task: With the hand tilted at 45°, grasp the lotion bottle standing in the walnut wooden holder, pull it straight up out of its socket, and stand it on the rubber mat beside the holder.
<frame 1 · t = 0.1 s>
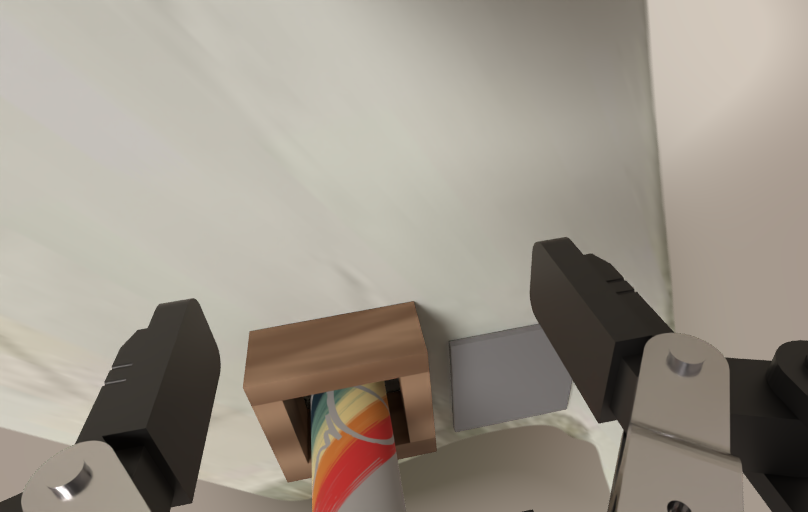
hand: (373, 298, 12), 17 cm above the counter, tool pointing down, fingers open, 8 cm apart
bottle holder: (346, 369, 39), on the counter
lotion bottle: (346, 367, 39), resting in bottle holder
rubber mat: (511, 375, 43), on the counter
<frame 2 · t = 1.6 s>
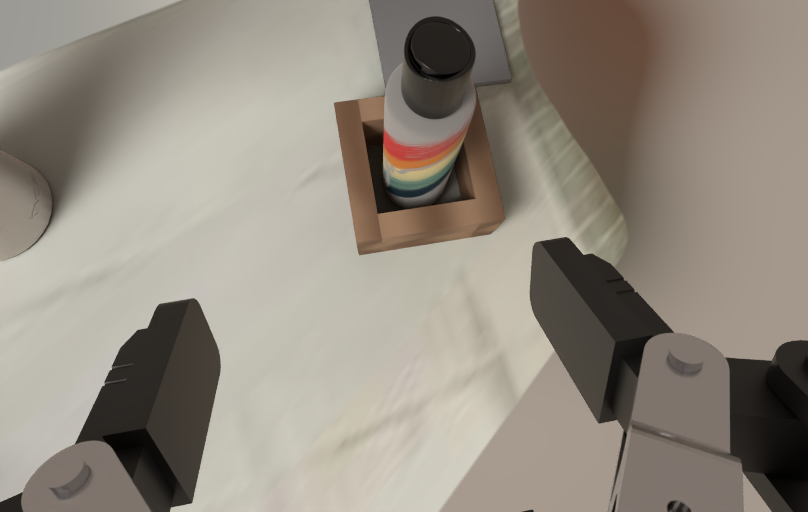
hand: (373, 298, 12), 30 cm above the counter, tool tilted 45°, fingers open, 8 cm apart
bottle holder: (413, 181, 44), on the counter
lotion bottle: (413, 182, 44), resting in bottle holder
rubber mat: (438, 39, 47), on the counter
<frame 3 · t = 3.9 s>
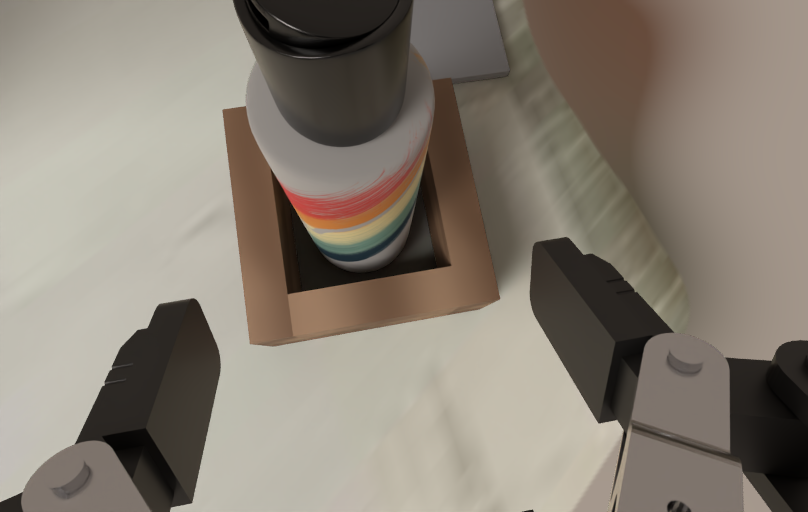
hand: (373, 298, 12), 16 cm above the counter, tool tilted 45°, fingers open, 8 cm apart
bottle holder: (361, 227, 29), on the counter
lotion bottle: (361, 228, 29), resting in bottle holder
rubber mat: (401, 14, 32), on the counter
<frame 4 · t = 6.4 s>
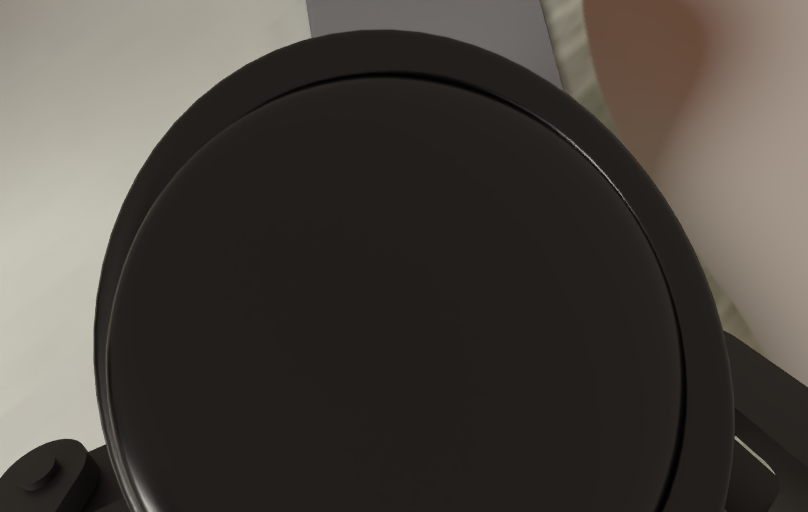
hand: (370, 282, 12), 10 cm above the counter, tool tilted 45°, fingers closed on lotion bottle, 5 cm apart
lotion bottle: (384, 355, 22), resting in bottle holder, touching gripper
rubber mat: (435, 65, 25), on the counter
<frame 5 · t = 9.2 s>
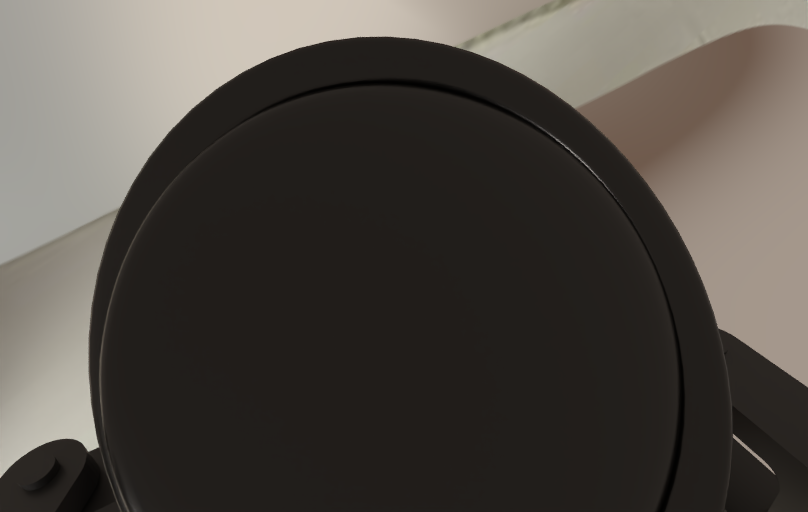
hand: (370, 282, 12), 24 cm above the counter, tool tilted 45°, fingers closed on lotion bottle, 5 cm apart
lotion bottle: (384, 356, 22), point 14 cm above the counter, touching gripper
when the fingers open (12 cm above the counter, at t = 12.3 s): lotion bottle drops 1 cm, resting on rubber mat.
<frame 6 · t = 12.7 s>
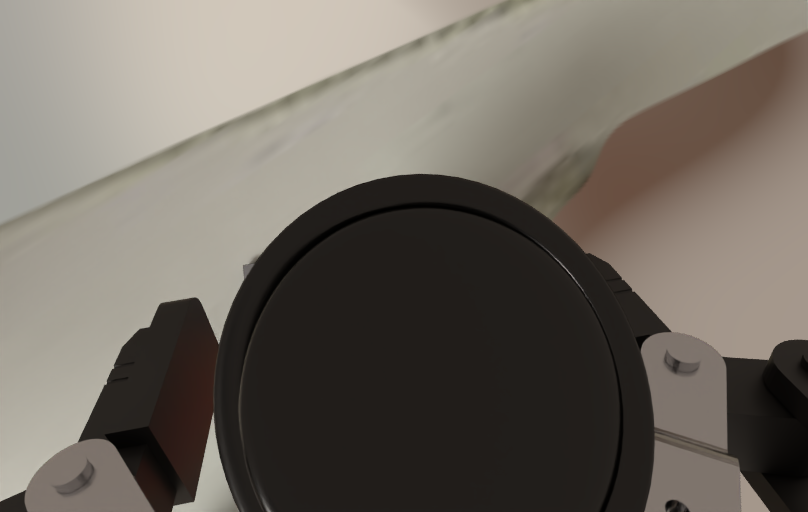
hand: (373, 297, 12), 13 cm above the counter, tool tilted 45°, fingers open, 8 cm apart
lotion bottle: (387, 361, 23), resting on rubber mat
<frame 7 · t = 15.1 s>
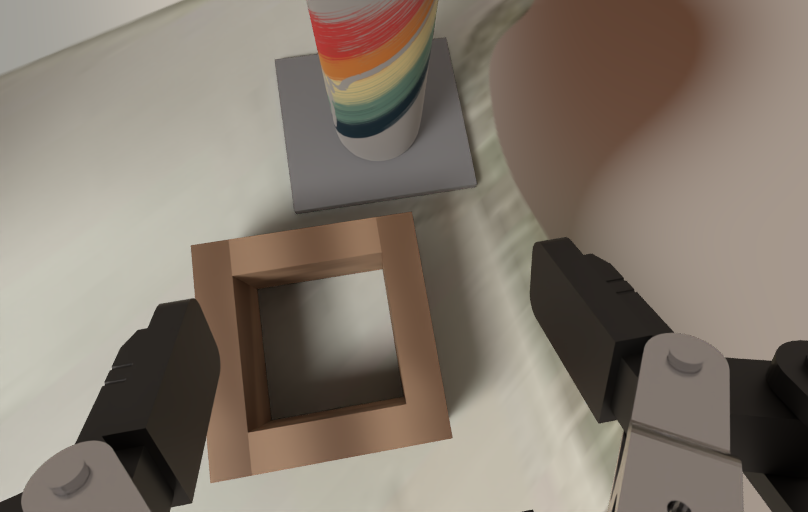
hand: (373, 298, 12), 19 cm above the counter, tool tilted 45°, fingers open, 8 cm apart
bottle holder: (329, 342, 30), on the counter
lotion bottle: (377, 125, 33), resting on rubber mat
rubber mat: (373, 124, 33), on the counter
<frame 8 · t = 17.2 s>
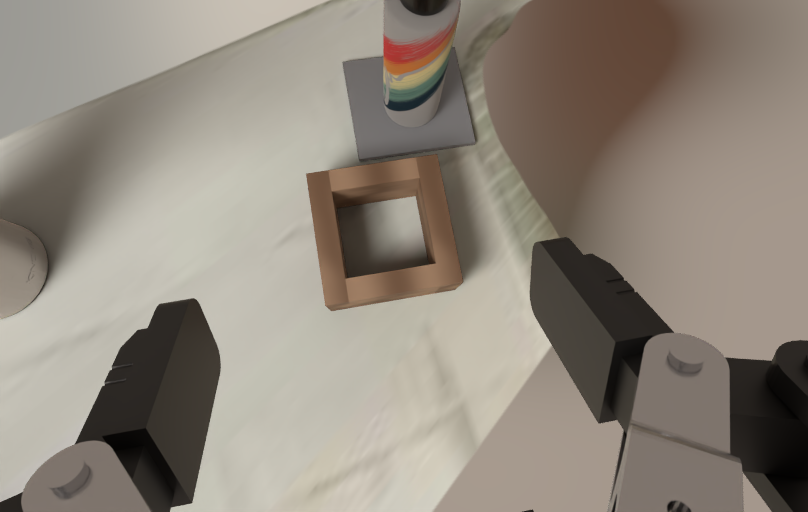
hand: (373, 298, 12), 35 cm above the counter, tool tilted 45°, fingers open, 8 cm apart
bottle holder: (383, 240, 48), on the counter
lotion bottle: (410, 104, 50), resting on rubber mat
rubber mat: (408, 104, 51), on the counter
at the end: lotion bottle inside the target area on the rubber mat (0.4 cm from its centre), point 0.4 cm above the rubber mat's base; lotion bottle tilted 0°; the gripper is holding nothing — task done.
